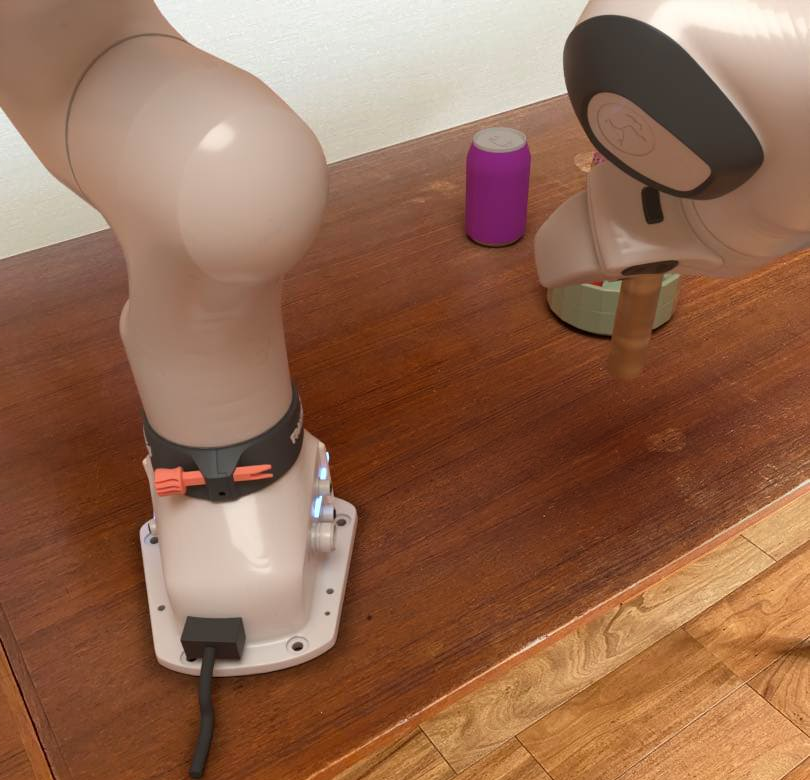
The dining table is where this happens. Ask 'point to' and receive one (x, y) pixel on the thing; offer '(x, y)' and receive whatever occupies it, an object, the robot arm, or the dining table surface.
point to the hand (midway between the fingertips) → (640, 267)
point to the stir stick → (633, 325)
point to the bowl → (607, 304)
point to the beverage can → (497, 186)
